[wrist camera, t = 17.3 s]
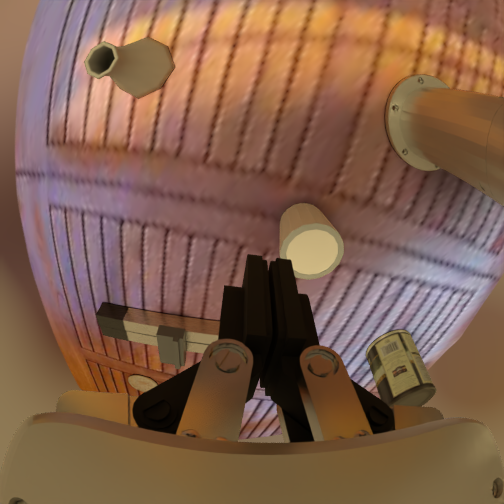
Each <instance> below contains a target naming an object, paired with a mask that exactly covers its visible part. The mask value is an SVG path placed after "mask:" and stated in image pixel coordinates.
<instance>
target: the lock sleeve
mask: <svg viewBox="0 0 504 504" xmlns="http://www.w3.org/2000/svg"><path fill="white" fill-rule="evenodd" d="M156 336H157V343H158V349H159V355H160V361H161V362H162V363H168V364H174V365H175V368H177V369H180V367H181V366H185V361H186V338H185V329H183V328H176V327H170V326H164V325H159V327H158V331H157V334H156Z"/></svg>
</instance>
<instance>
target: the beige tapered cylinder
mask: <svg viewBox="0 0 504 504" xmlns="http://www.w3.org/2000/svg"><path fill="white" fill-rule="evenodd" d="M343 253H344V244H343V241H342V239H341V237H340V235H339V233H338V231H337V230H336V229H335V228H334V227H333V225H332V224H331V223H330V222H329V220H328V219H327V218H326V217H325V216H324V214H323V213H322V212H321V211H320V210H319V209H318V208H317V207H315V206H314V205H312V204H307V203H299V204H295V205H293V206H291V207H289V208H288V209H287V210H286V211H285V212H284V213H283V215H282V217H281V221H280V258H282V259H290V260H291V261H292V266H293V271H294V275H295V277H297V278H302V279H308V280H309V279H315V278H320V277H322V276H324V275H326V274H328V273H330V272H332V270H333V269H334V268H335V267H336V266H337V265H338V264H339V263H340V261H341V258H342V256H343Z"/></svg>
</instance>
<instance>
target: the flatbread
mask: <svg viewBox="0 0 504 504" xmlns="http://www.w3.org/2000/svg"><path fill="white" fill-rule="evenodd" d="M128 381H129V383H130V385H131V386H132V387H134V388H135V389H138V390H140V391H143V392H146V391H148V390H150V389H152V388H154V387H156V386H158V384H157V383H156V382H155V381H153V380H152V379H151V378H148V377H144V376H140V375H132V376H130V377H129V379H128Z"/></svg>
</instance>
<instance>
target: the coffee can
mask: <svg viewBox="0 0 504 504" xmlns="http://www.w3.org/2000/svg"><path fill="white" fill-rule="evenodd" d="M366 357H367V359H368V362H369V365H370V368H371V371H372V374H373V377H374V380H375V383H376V386H377V389H378V393H379V396H380V399H381V400H382V401H383V402H385V403H386V404H387V405H388V406H389V407H392V406H393V405H402V406H418V407H421V406H422V405H424V404H425V403H426V402H428V401H429V400H430V399H431V398H432V397H433V396H434V395H435V393H436V388H435V386H434V385H433V383H432V381H431V378H430V376H429V374H428V371H427V369H426V367H425V365H424V363H423V360H422V358H421V356H420V354H419V352H418V350H417V348H416V346H415V344H414V342H413V340H412V337H411V335H410V333H409V332H408V331H406V330H394V331H391V332H388V333H386V334H384V335H382V336H380V337H379V338H377V339H376V340H375V341H374V342H373V343H372V344H371V345H370V346H369V347H368V349H367V352H366Z"/></svg>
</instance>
